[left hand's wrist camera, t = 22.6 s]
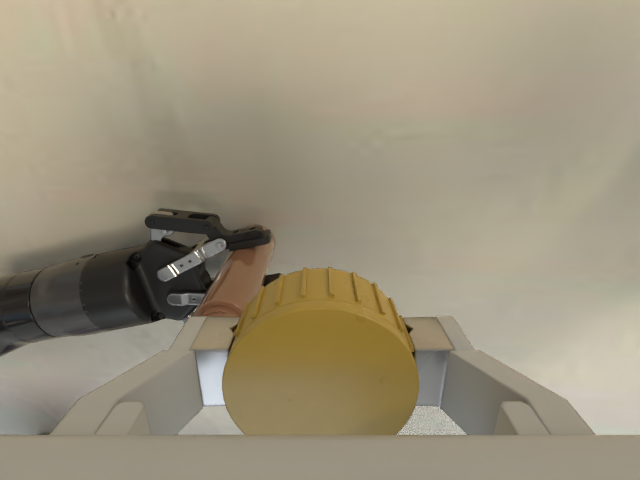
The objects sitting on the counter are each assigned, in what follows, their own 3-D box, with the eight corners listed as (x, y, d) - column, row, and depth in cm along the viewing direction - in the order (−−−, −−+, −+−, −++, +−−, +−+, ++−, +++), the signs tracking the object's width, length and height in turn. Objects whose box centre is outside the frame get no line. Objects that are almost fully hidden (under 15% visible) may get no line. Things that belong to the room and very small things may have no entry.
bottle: (230, 242, 40) (169, 343, 23) (254, 217, 39) (209, 303, 22) (258, 265, 41) (219, 378, 24) (282, 241, 40) (259, 341, 23)
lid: (424, 279, 10) (449, 322, 8) (382, 413, 11) (394, 475, 10) (245, 251, 9) (227, 288, 8) (230, 393, 11) (212, 453, 9)
